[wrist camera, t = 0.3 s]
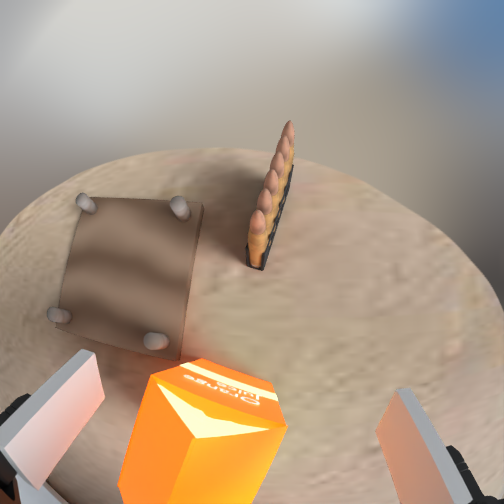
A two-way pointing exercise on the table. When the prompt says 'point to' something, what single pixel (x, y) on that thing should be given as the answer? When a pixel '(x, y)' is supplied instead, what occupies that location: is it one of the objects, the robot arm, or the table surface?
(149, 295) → the peg stand
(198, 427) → the orange juice
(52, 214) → the table surface
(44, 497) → the salad plate
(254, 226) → the ammunition clip
